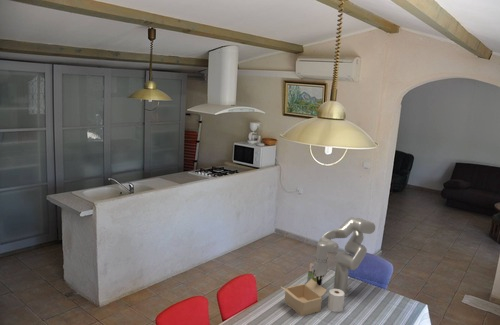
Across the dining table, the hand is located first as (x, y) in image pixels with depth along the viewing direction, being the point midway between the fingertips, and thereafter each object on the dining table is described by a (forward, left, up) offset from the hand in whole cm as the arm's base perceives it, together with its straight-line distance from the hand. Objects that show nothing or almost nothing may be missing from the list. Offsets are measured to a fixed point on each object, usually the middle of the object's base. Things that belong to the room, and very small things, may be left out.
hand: (318, 284), depth 279 cm
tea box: (-13, -21, -14) cm, 28 cm away
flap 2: (+2, 0, -2) cm, 3 cm away
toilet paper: (-7, +11, -14) cm, 19 cm away
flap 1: (+24, 0, -2) cm, 24 cm away
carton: (+13, 0, -14) cm, 19 cm away
